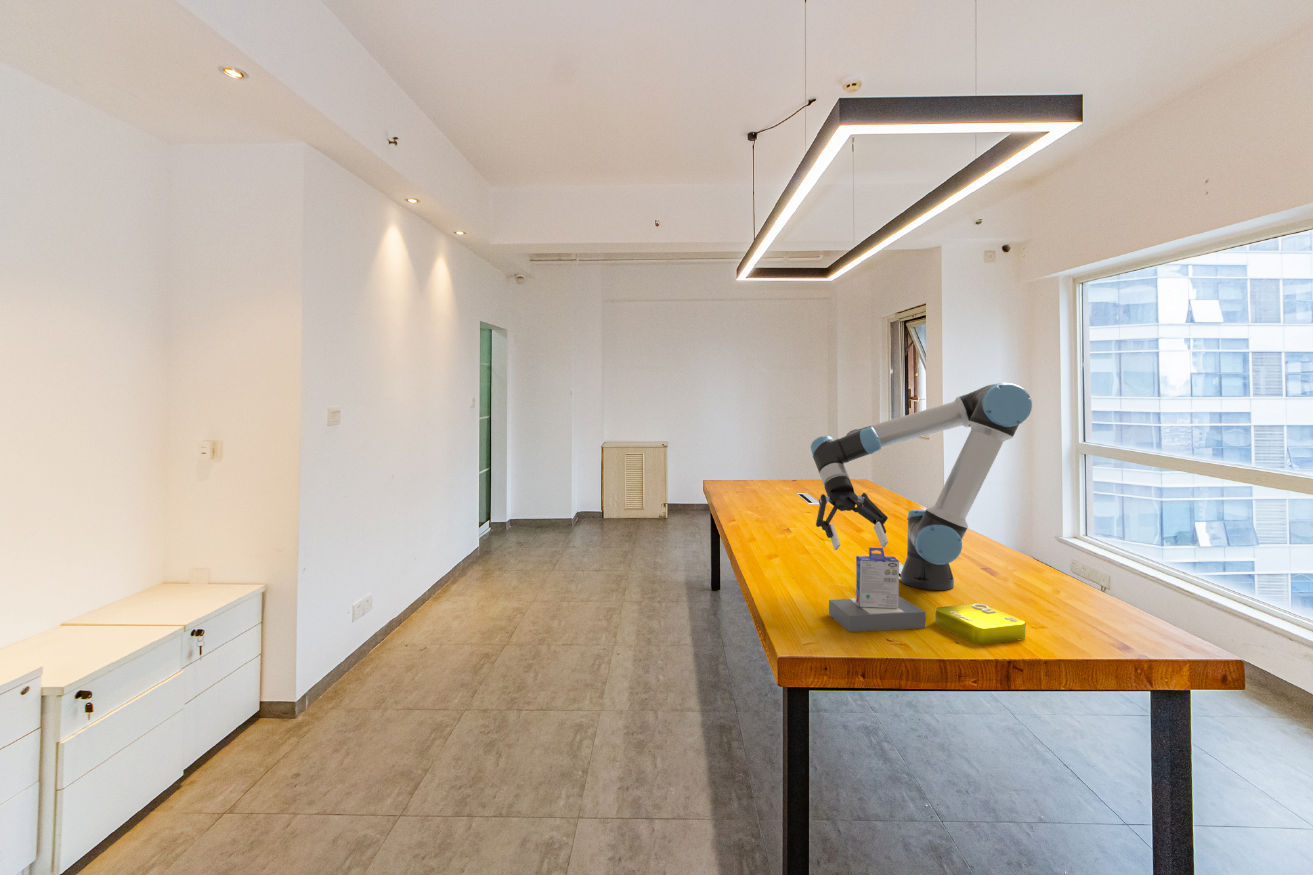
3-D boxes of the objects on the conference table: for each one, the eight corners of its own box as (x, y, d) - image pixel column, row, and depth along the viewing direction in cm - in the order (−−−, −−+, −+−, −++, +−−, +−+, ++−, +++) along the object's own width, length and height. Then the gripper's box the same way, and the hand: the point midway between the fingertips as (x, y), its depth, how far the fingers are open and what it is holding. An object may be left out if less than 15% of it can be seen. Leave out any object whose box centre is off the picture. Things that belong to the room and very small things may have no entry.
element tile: (931, 623, 149) (931, 605, 149) (979, 618, 153) (979, 600, 153) (977, 646, 135) (978, 626, 135) (1029, 640, 139) (1030, 620, 139)
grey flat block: (899, 610, 157) (899, 595, 157) (925, 627, 146) (925, 611, 145) (828, 614, 155) (829, 599, 155) (849, 631, 143) (849, 615, 143)
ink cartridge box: (893, 601, 152) (894, 547, 151) (899, 609, 147) (901, 552, 146) (854, 600, 153) (855, 546, 153) (859, 607, 148) (860, 551, 147)
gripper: (871, 488, 174) (899, 551, 160) (792, 491, 171) (813, 555, 157) (881, 473, 169) (910, 536, 155) (799, 475, 165) (821, 540, 151)
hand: (861, 546), depth 156 cm, fingers open, 13 cm apart
